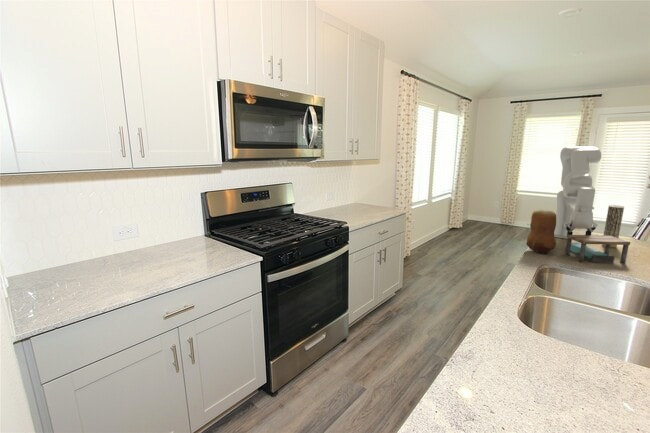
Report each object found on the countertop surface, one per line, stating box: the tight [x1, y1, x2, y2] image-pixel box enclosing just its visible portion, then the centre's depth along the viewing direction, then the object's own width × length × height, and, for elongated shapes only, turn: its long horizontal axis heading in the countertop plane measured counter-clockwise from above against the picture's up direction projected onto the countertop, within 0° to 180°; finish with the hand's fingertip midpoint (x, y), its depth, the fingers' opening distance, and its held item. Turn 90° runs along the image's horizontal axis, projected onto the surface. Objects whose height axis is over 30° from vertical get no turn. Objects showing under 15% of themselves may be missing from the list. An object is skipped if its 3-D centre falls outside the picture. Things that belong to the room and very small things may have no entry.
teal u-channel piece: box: [570, 242, 607, 258], centre depth 173 cm, size 22×6×4 cm, turn 174°
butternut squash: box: [526, 208, 557, 255], centre depth 176 cm, size 14×13×25 cm
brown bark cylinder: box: [601, 204, 625, 249], centre depth 187 cm, size 7×7×25 cm
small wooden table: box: [564, 234, 631, 265], centre depth 166 cm, size 13×22×12 cm, turn 84°
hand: (578, 237), depth 179 cm, fingers open, 9 cm apart
